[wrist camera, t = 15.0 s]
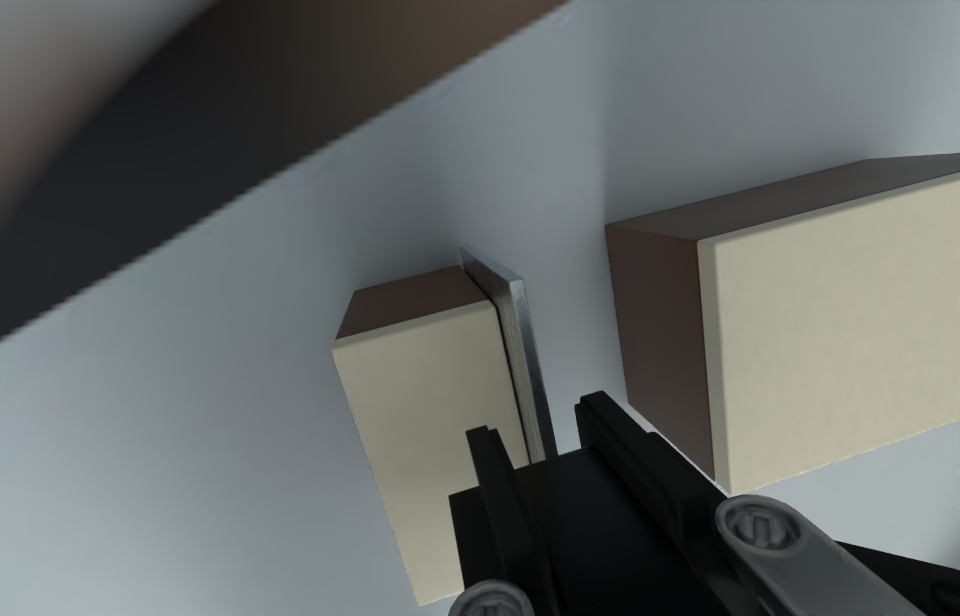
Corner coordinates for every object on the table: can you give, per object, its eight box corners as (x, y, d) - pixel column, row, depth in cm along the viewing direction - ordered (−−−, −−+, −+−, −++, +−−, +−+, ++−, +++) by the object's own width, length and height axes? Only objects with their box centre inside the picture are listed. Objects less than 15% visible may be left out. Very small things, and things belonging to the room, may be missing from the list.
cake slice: (353, 290, 16) (329, 350, 10) (459, 264, 17) (495, 305, 11) (410, 472, 19) (417, 608, 13) (502, 444, 19) (551, 563, 13)
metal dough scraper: (435, 251, 16) (534, 381, 4) (489, 238, 16) (721, 327, 5) (494, 489, 18) (655, 966, 7) (541, 475, 19) (770, 913, 7)
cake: (603, 225, 18) (714, 243, 12) (868, 158, 19) (1091, 144, 13) (628, 404, 20) (731, 498, 14) (862, 333, 21) (1050, 390, 15)
